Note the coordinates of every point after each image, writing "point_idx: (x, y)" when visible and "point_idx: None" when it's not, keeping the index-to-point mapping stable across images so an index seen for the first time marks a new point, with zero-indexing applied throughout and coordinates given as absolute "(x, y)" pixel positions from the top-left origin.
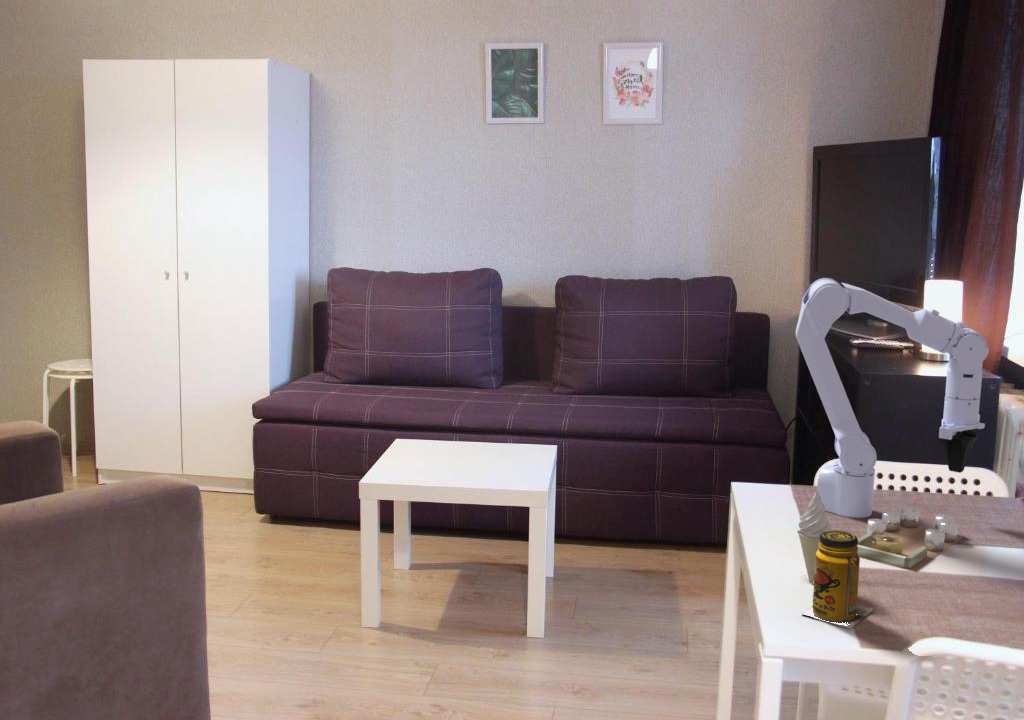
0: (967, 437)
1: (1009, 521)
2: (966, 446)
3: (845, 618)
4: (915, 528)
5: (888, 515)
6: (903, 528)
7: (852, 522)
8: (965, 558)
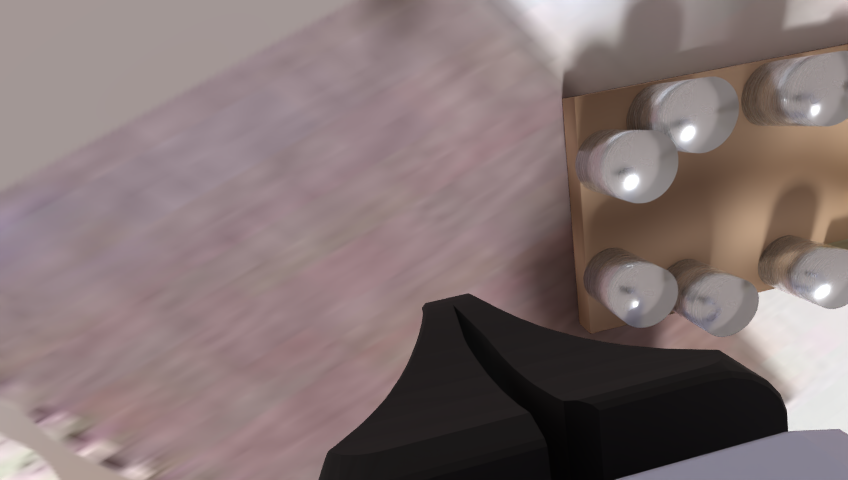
0: (717, 436)
1: (182, 122)
2: (640, 350)
3: None
4: (618, 247)
5: (757, 299)
6: None
7: None
8: (700, 12)
